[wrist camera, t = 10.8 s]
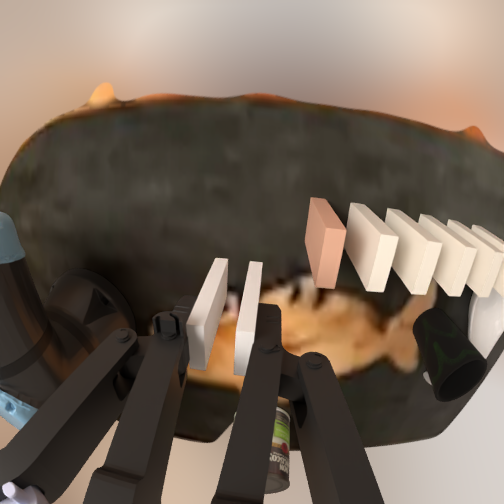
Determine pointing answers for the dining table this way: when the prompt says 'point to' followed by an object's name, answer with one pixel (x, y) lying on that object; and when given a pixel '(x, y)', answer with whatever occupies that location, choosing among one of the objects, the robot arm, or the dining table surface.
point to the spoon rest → (484, 322)
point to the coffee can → (279, 454)
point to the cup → (447, 355)
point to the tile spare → (324, 242)
